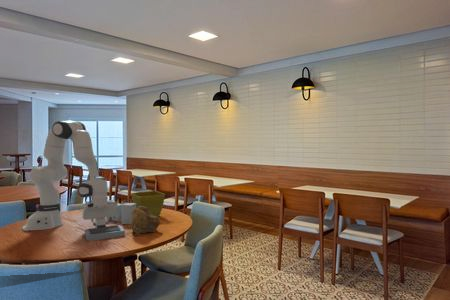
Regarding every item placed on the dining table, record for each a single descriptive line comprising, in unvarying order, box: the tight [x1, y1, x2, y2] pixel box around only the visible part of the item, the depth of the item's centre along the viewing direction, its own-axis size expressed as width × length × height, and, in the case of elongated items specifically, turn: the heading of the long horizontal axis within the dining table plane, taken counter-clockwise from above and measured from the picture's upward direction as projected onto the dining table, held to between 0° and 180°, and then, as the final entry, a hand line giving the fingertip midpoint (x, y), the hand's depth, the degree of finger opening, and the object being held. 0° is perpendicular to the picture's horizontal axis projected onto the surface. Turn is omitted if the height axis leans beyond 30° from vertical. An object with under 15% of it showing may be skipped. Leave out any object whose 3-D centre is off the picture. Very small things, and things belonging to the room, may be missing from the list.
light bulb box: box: [109, 202, 124, 222], centre depth 226 cm, size 11×7×11 cm, turn 68°
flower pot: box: [130, 190, 166, 218], centre depth 234 cm, size 19×19×17 cm
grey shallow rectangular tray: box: [84, 224, 126, 242], centre depth 188 cm, size 20×14×4 cm
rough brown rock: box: [130, 206, 161, 235], centre depth 196 cm, size 23×17×15 cm
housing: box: [94, 217, 107, 228], centre depth 201 cm, size 5×8×7 cm, turn 29°
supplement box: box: [121, 202, 136, 225], centre depth 217 cm, size 7×7×13 cm
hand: (100, 224), depth 201 cm, fingers open, 6 cm apart
